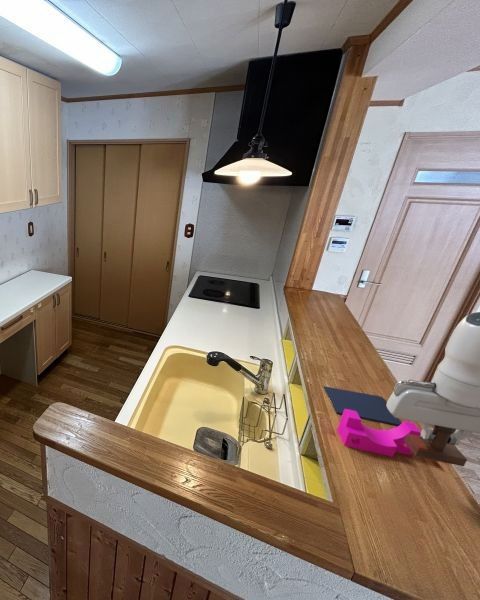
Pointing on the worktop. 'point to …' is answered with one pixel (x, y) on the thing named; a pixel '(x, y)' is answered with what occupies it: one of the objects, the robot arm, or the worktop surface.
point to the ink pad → (361, 405)
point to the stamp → (436, 447)
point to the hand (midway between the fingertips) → (438, 440)
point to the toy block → (374, 435)
